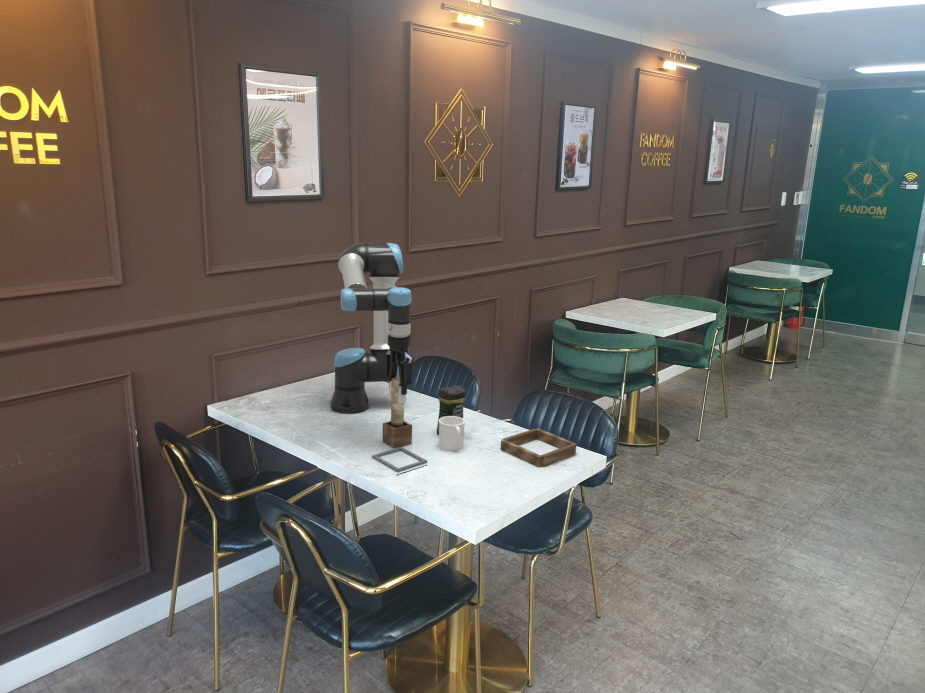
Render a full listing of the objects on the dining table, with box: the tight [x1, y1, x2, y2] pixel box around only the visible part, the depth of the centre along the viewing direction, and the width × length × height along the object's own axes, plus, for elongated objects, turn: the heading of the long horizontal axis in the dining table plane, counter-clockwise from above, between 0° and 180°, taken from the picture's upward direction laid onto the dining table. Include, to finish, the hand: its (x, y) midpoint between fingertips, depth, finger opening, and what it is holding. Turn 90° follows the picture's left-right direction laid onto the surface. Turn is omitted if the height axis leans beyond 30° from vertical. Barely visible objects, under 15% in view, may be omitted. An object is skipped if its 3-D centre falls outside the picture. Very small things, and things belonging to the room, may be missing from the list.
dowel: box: [390, 377, 405, 428], centre depth 240 cm, size 4×4×17 cm
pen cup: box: [382, 420, 413, 449], centre depth 243 cm, size 7×7×8 cm
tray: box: [371, 446, 428, 476], centre depth 230 cm, size 14×12×2 cm
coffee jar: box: [436, 384, 467, 436], centre depth 253 cm, size 10×8×19 cm
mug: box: [438, 416, 466, 452], centre depth 241 cm, size 11×9×10 cm
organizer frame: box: [500, 427, 577, 468], centre depth 244 cm, size 19×19×4 cm
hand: (397, 400), depth 240 cm, fingers closed on dowel, 4 cm apart
